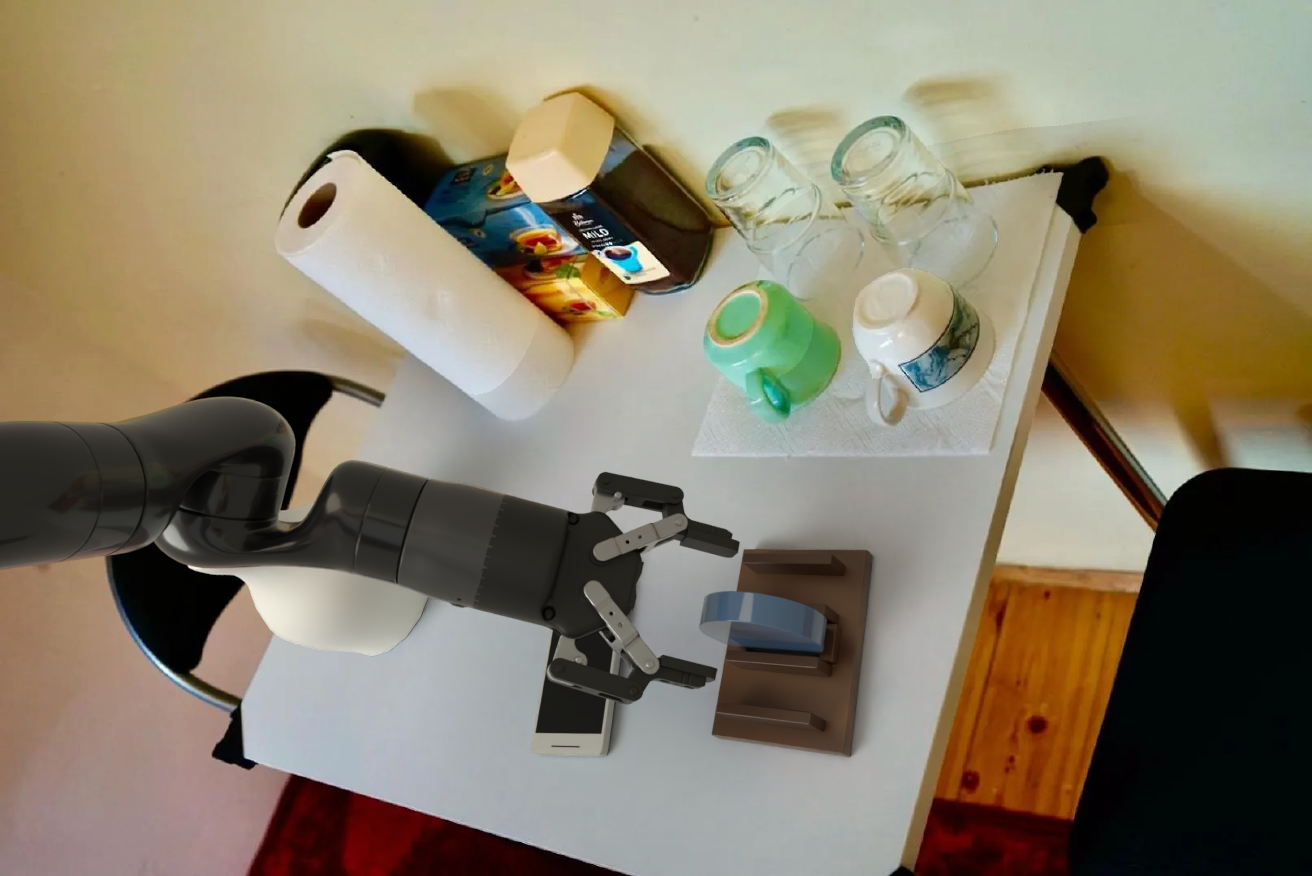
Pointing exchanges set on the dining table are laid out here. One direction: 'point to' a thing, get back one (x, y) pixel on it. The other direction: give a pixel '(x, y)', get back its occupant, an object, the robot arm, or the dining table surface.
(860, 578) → the rack
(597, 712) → the smartphone
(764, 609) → the disc
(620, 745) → the dining table surface
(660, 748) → the dining table surface
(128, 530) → the robot arm
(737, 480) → the dining table surface
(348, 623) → the vase
